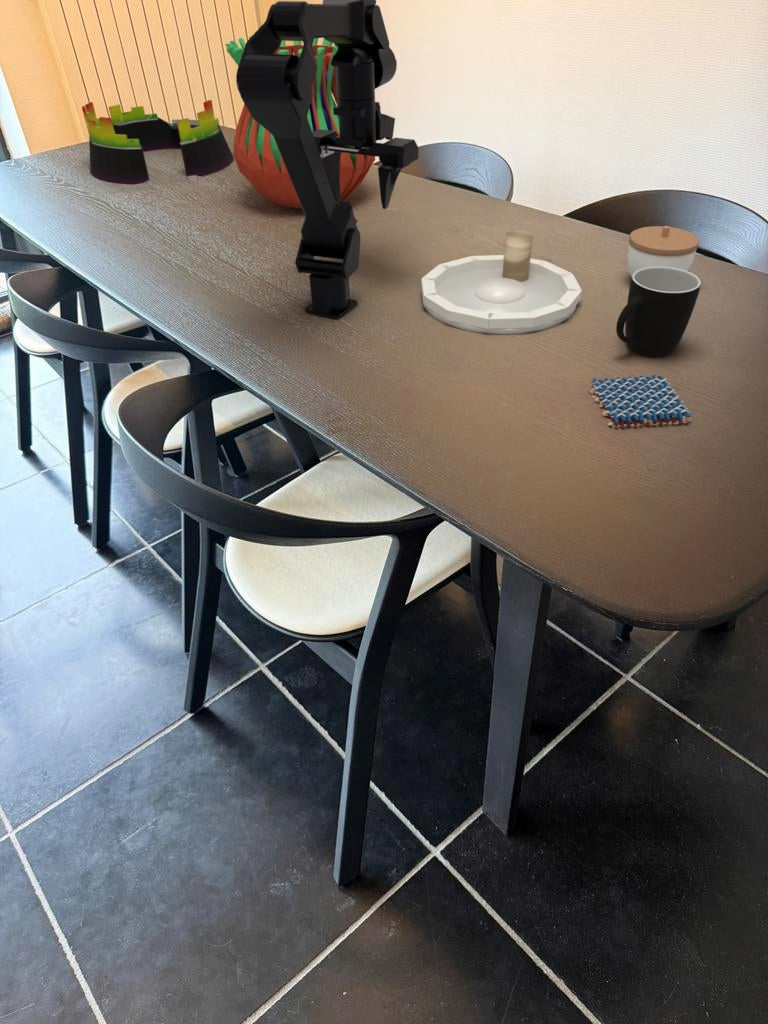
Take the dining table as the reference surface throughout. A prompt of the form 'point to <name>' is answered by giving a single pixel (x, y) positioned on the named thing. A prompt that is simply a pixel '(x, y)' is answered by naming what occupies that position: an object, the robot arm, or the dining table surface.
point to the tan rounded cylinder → (517, 255)
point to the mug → (657, 309)
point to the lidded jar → (661, 248)
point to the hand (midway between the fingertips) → (361, 204)
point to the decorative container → (152, 143)
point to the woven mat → (638, 401)
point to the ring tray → (499, 296)
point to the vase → (259, 146)
